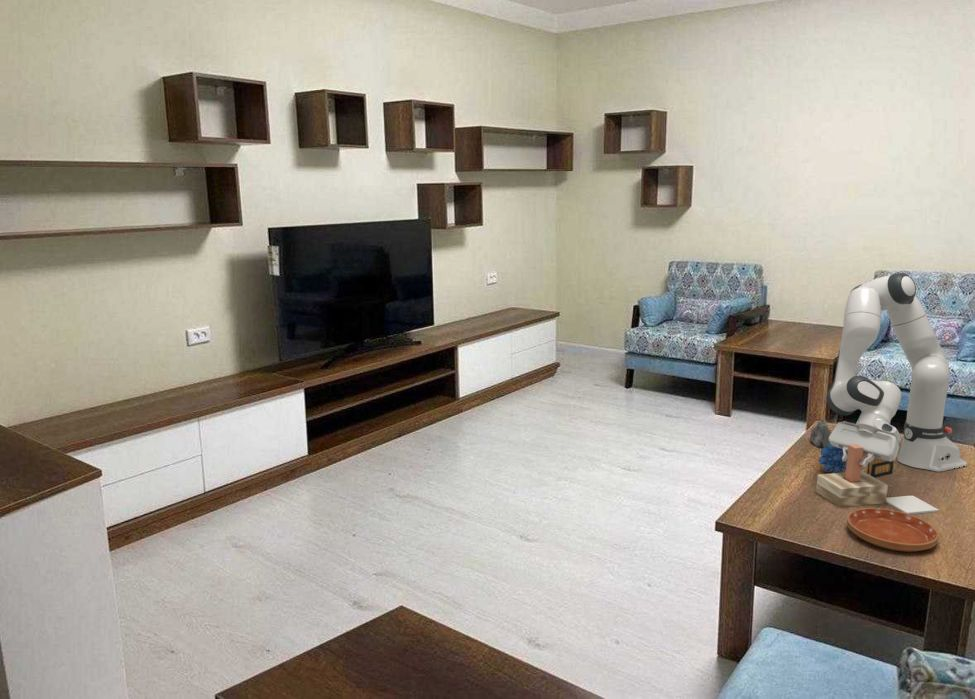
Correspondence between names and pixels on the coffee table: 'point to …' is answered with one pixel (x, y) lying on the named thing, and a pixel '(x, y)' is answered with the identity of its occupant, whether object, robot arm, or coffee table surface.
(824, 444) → the mineral rock
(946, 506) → the coffee table surface
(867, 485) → the cream block with hole
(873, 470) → the ammunition clip
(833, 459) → the grapes
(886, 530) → the saucer
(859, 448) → the wooden block
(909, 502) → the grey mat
